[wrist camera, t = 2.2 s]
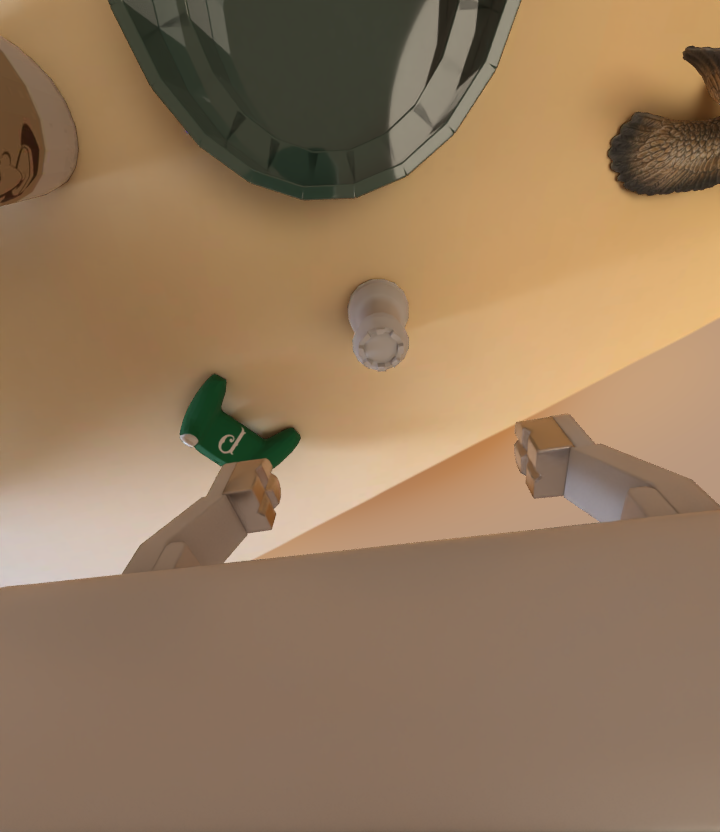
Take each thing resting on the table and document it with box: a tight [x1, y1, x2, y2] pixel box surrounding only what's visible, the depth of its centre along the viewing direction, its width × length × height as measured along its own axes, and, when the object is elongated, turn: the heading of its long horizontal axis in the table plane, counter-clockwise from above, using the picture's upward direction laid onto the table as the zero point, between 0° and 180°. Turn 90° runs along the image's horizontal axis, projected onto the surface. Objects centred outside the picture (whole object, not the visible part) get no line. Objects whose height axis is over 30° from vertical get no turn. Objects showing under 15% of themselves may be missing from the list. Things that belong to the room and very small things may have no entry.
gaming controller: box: [180, 374, 301, 469], centre depth 31 cm, size 9×4×6 cm
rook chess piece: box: [348, 279, 409, 371], centre depth 24 cm, size 4×4×8 cm
